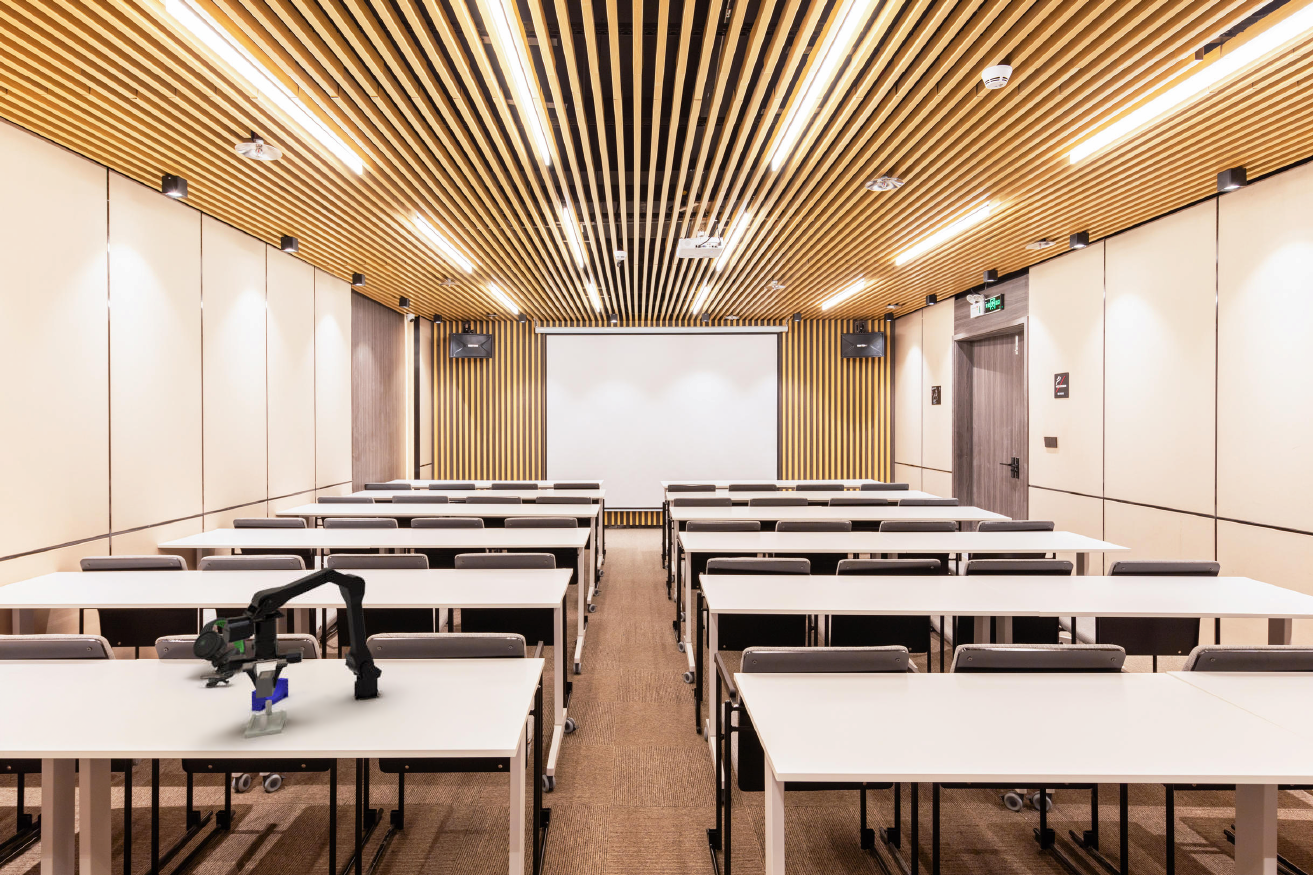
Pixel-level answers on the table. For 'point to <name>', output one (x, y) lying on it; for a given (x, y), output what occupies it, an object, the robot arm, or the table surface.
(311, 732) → the table surface
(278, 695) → the cable clip
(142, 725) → the table surface
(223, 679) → the headset
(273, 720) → the pegged rail plate
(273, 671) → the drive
